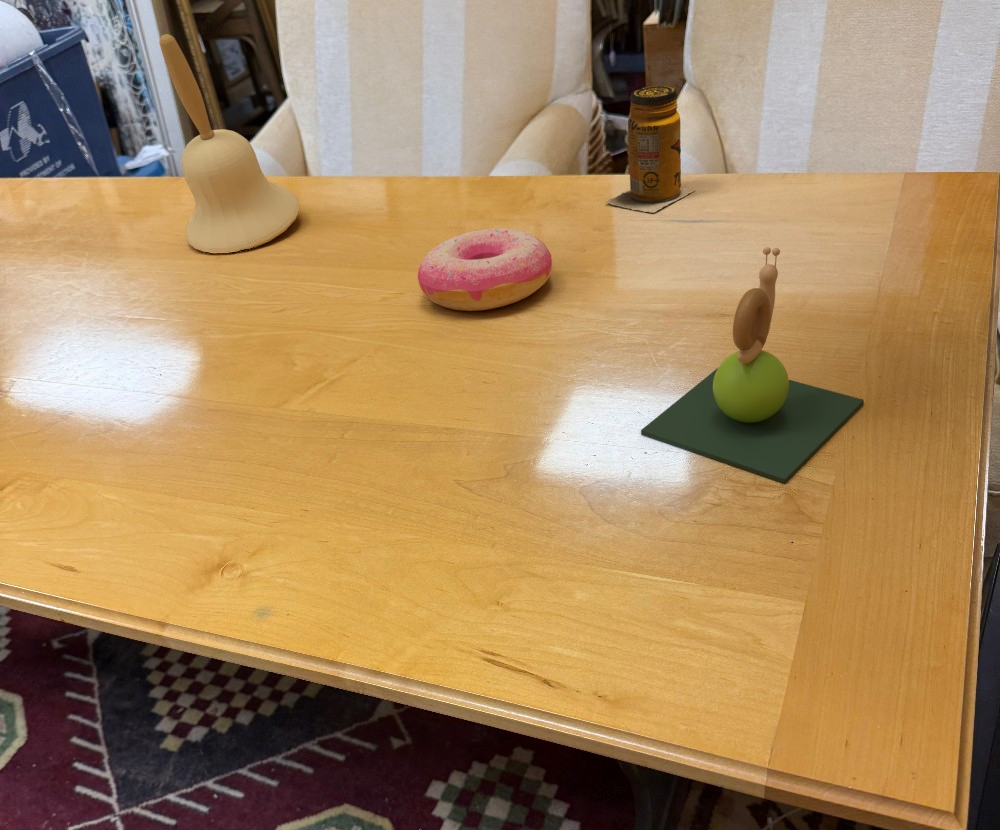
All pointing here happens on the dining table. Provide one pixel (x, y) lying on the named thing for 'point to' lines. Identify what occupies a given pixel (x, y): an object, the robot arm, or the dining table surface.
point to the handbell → (224, 177)
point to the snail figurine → (753, 357)
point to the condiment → (653, 151)
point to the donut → (484, 269)
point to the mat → (755, 428)
